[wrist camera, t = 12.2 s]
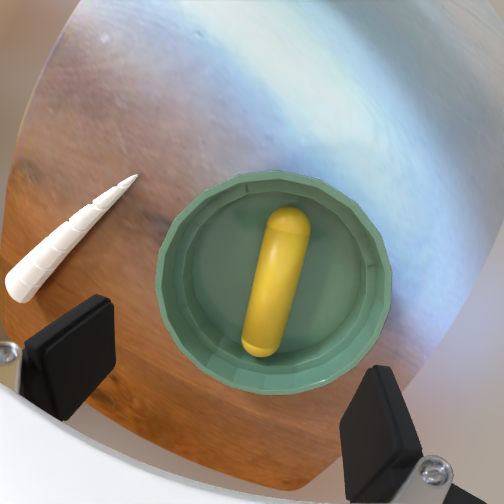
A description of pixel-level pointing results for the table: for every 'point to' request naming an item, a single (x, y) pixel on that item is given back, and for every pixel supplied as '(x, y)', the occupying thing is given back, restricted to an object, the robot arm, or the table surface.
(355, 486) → the robot arm
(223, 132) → the table surface
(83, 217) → the unicorn horn
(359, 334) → the green round dish
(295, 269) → the yellow rounded capsule
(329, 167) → the table surface
